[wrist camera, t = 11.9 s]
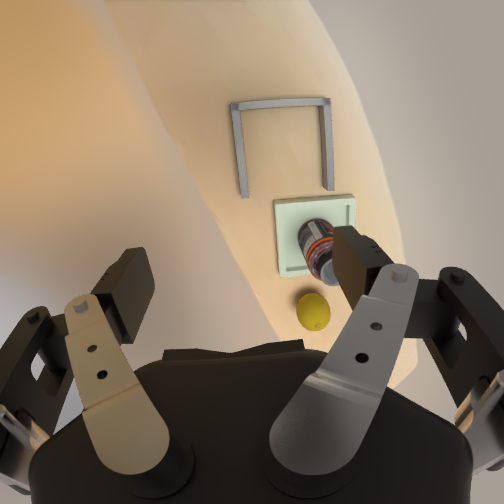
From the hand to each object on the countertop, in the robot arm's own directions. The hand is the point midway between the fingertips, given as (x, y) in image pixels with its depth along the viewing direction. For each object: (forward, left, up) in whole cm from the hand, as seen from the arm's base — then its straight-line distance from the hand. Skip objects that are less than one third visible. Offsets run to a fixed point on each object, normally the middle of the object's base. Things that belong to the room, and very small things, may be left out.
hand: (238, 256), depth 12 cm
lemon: (+25, +9, -30) cm, 40 cm away
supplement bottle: (+13, +10, -30) cm, 34 cm away
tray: (+13, +10, -30) cm, 34 cm away
